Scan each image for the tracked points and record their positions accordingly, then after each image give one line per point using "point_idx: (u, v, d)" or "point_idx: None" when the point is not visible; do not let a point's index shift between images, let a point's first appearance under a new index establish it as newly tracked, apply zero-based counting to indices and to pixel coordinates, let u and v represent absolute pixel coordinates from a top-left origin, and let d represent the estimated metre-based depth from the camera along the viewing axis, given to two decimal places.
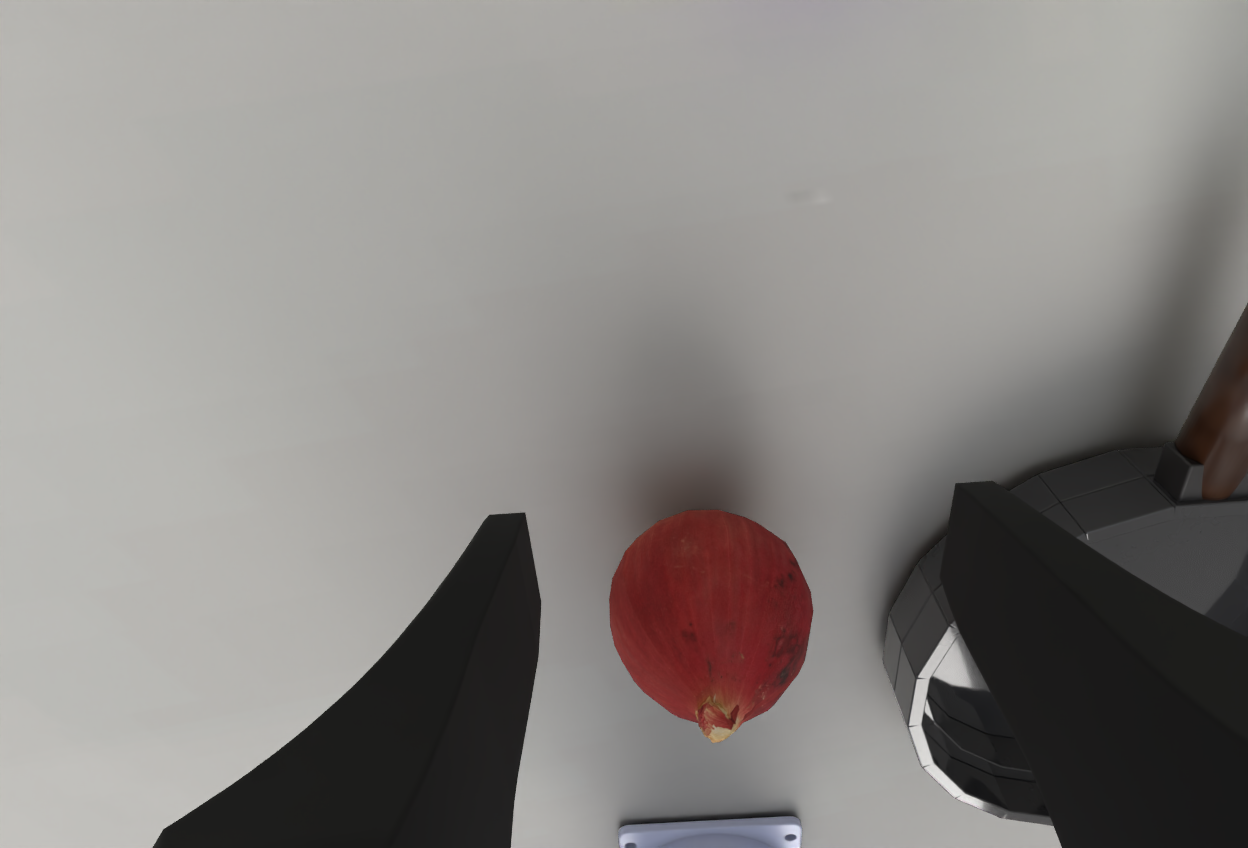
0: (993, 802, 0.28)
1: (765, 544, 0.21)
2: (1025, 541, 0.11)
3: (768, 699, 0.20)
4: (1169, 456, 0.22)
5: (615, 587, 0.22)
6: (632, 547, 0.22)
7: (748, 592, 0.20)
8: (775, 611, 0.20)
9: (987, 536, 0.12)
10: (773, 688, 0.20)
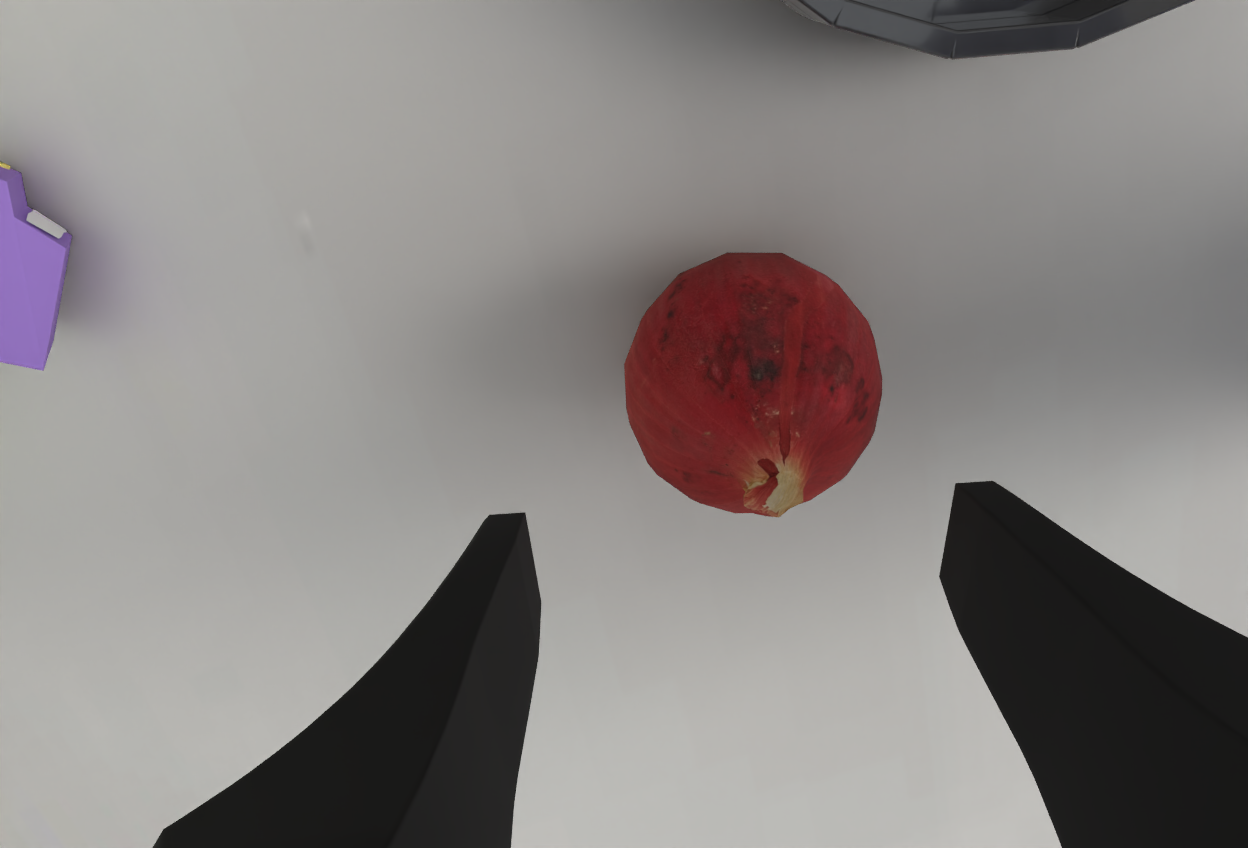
0: None
1: (640, 329, 0.17)
2: (1025, 541, 0.11)
3: (786, 401, 0.15)
4: None
5: None
6: None
7: (653, 392, 0.16)
8: (680, 364, 0.16)
9: (986, 536, 0.12)
10: (772, 394, 0.15)
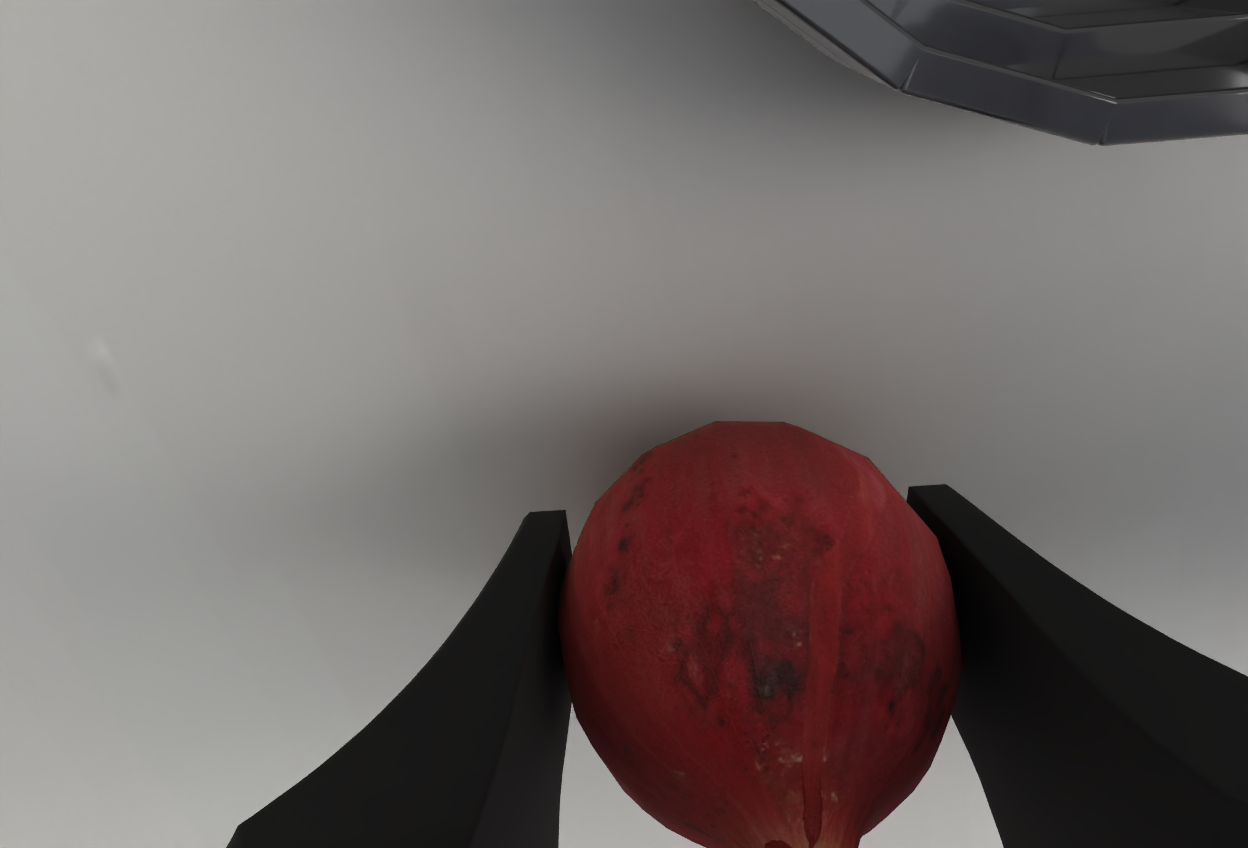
0: None
1: (580, 550, 0.11)
2: (970, 545, 0.11)
3: (815, 739, 0.09)
4: None
5: None
6: None
7: (594, 676, 0.10)
8: (637, 643, 0.09)
9: None
10: (790, 725, 0.09)
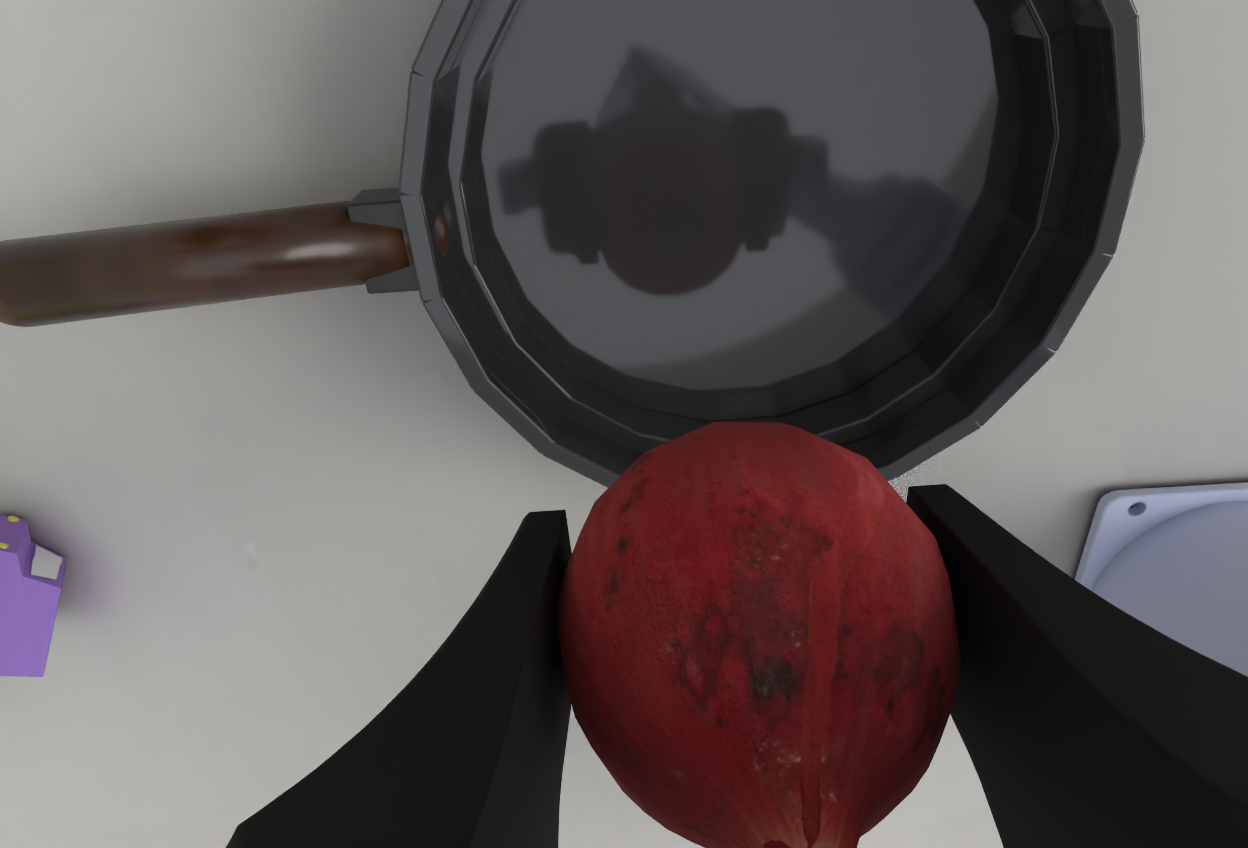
0: (1012, 369, 0.18)
1: (579, 551, 0.11)
2: (970, 545, 0.11)
3: (814, 739, 0.09)
4: None
5: None
6: None
7: (592, 676, 0.10)
8: (635, 644, 0.09)
9: (936, 540, 0.12)
10: (789, 724, 0.09)
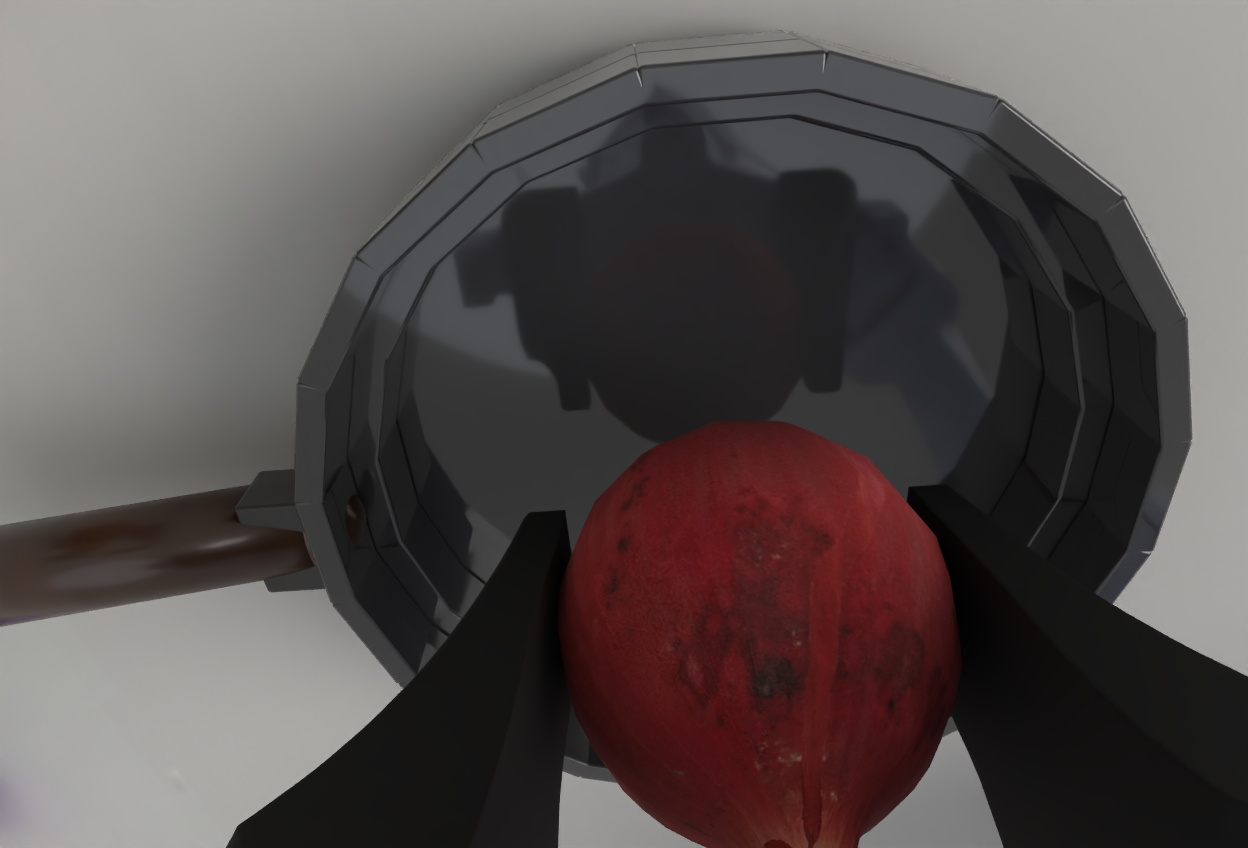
0: None
1: (579, 550, 0.11)
2: (970, 545, 0.11)
3: (814, 738, 0.09)
4: None
5: None
6: None
7: (593, 676, 0.10)
8: (636, 643, 0.09)
9: None
10: (789, 724, 0.09)
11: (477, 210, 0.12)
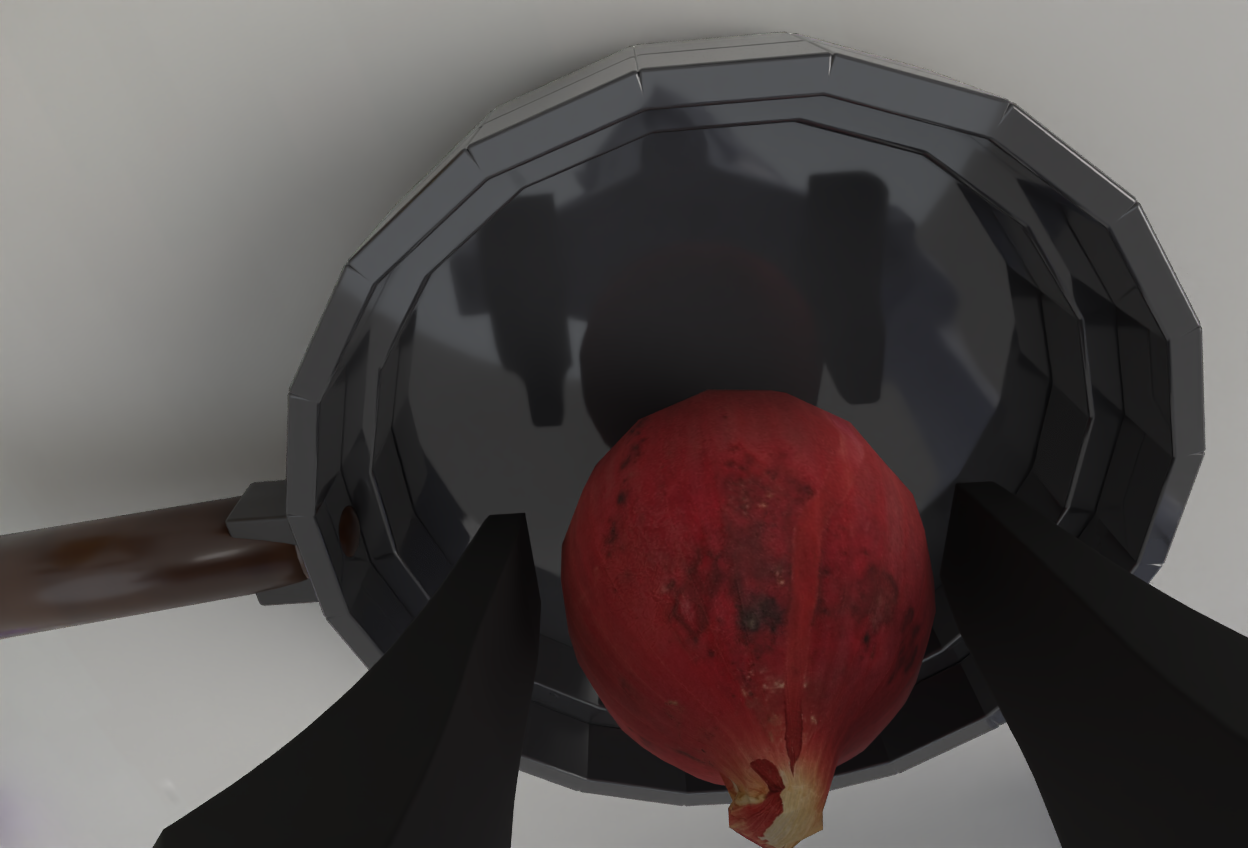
0: None
1: (581, 507, 0.12)
2: (1025, 541, 0.11)
3: (796, 668, 0.09)
4: None
5: None
6: None
7: (595, 619, 0.11)
8: (633, 586, 0.10)
9: (986, 536, 0.12)
10: (773, 654, 0.09)
11: (473, 216, 0.12)
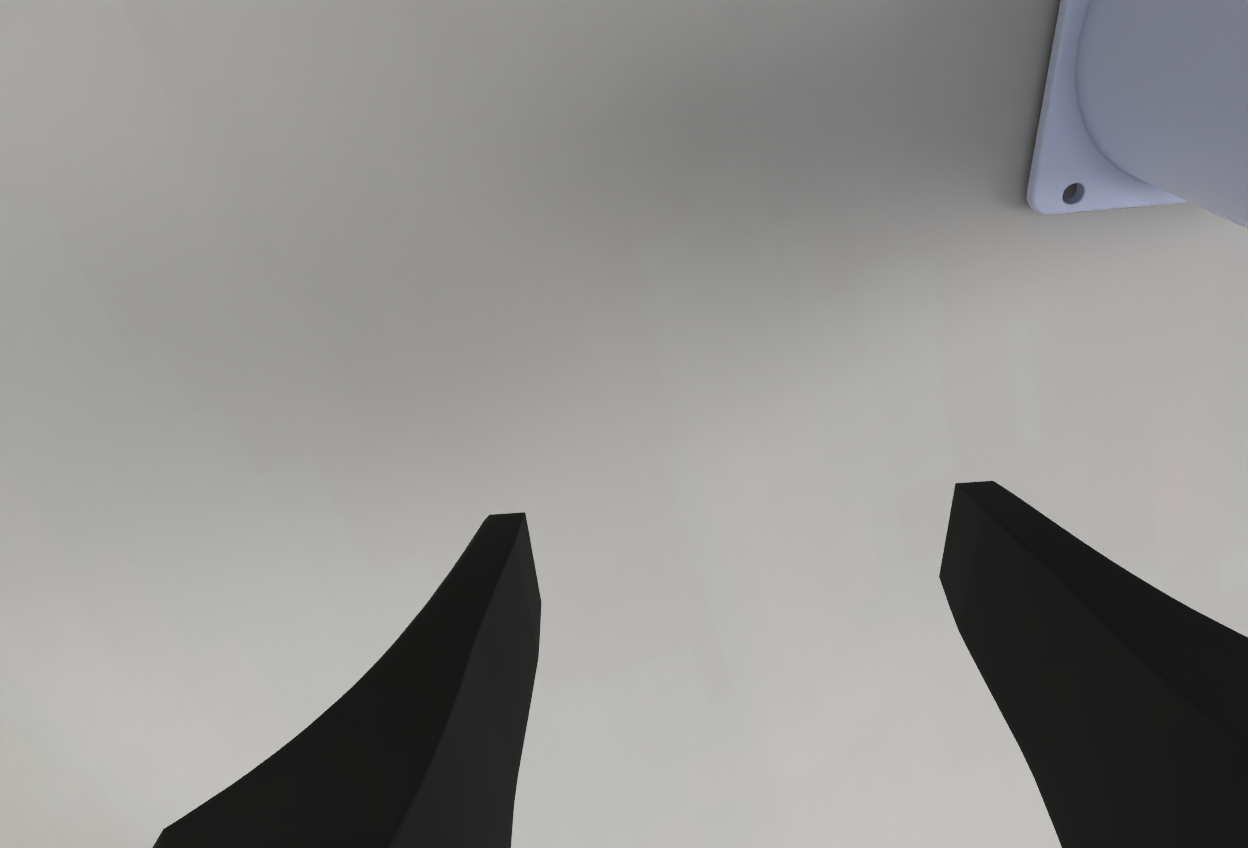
0: None
1: None
2: (1025, 541, 0.11)
3: None
4: None
5: None
6: None
7: None
8: None
9: (986, 536, 0.12)
10: None
11: None
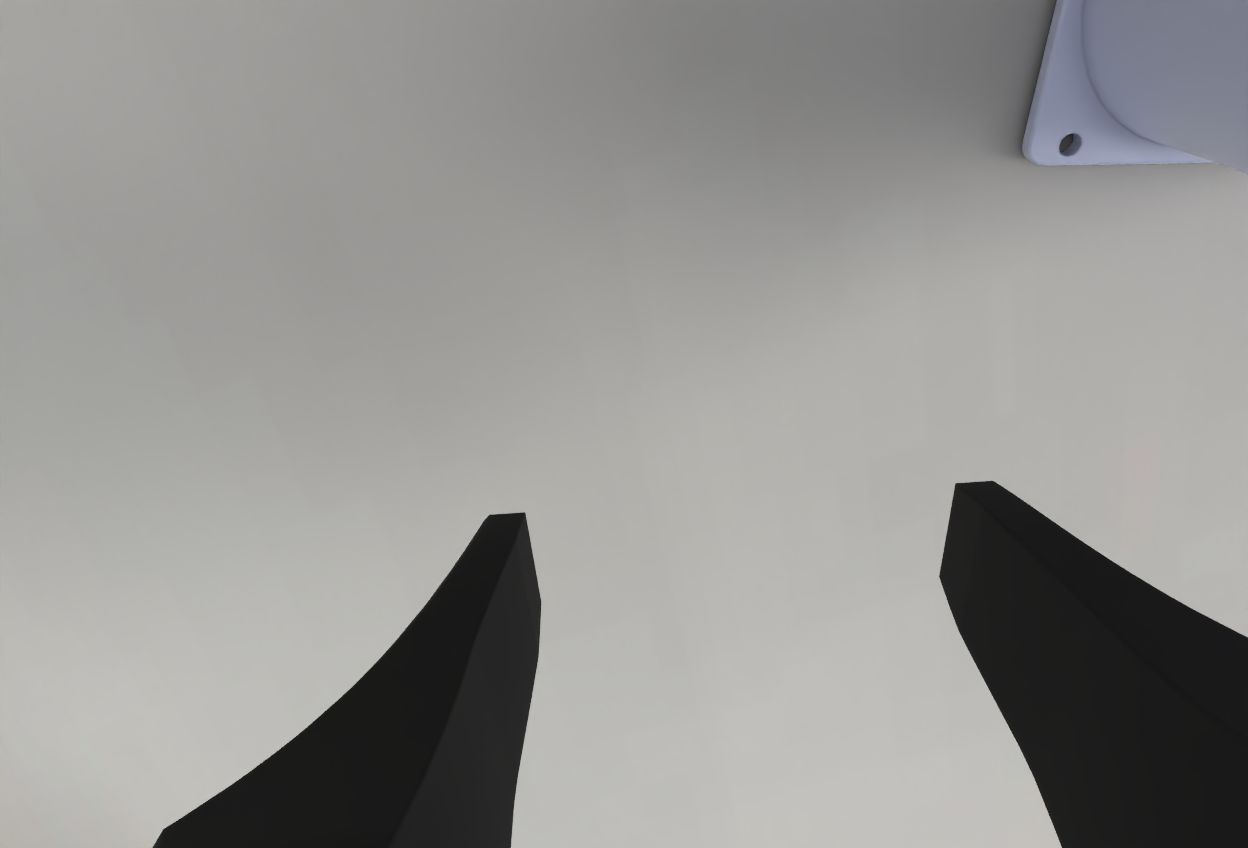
0: None
1: None
2: (1025, 541, 0.11)
3: None
4: None
5: None
6: None
7: None
8: None
9: (986, 537, 0.12)
10: None
11: None
